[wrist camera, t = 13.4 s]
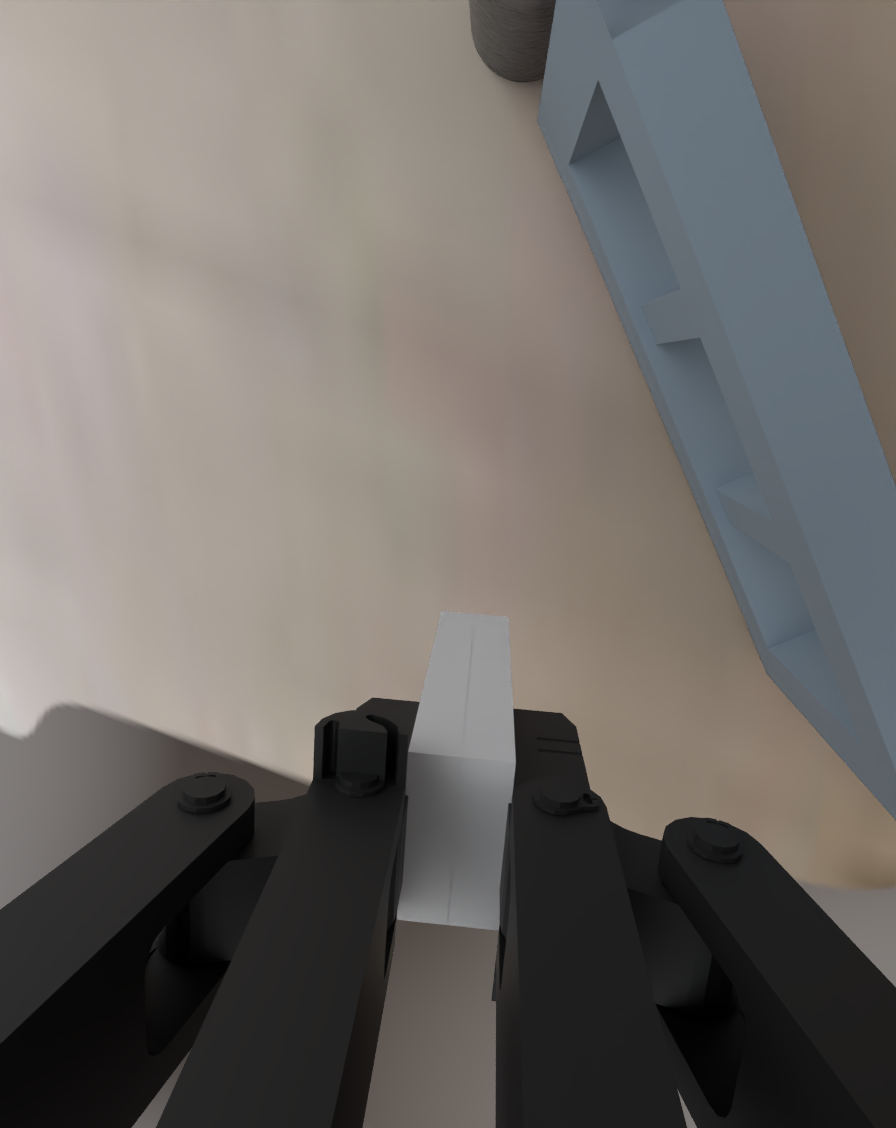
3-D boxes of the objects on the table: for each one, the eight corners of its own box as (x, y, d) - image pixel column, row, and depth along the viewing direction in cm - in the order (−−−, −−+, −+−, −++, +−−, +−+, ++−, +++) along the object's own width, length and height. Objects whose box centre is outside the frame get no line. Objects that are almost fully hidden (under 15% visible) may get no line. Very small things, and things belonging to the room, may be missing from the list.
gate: (595, 88, 19) (674, -138, 11) (820, 653, 22) (1017, 828, 14) (537, 120, 19) (567, -74, 11) (767, 674, 23) (929, 858, 14)
